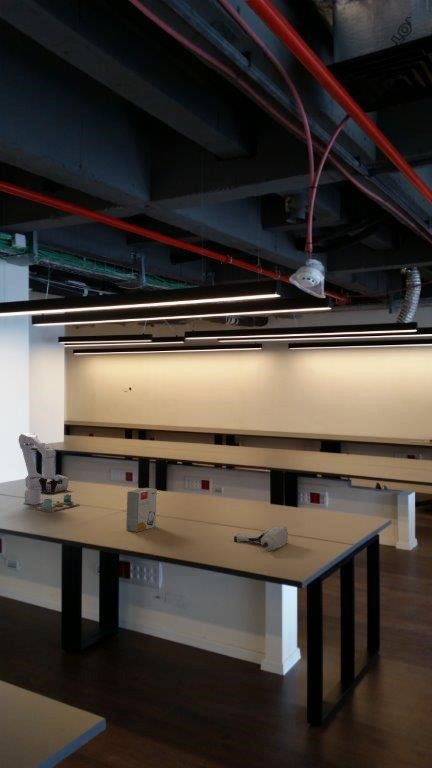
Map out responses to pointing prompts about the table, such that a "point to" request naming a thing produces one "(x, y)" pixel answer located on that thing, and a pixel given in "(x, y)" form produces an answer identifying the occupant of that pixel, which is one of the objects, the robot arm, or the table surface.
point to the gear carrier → (61, 504)
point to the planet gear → (47, 504)
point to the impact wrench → (267, 538)
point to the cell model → (58, 484)
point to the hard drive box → (141, 509)
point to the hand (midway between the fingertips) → (48, 491)
